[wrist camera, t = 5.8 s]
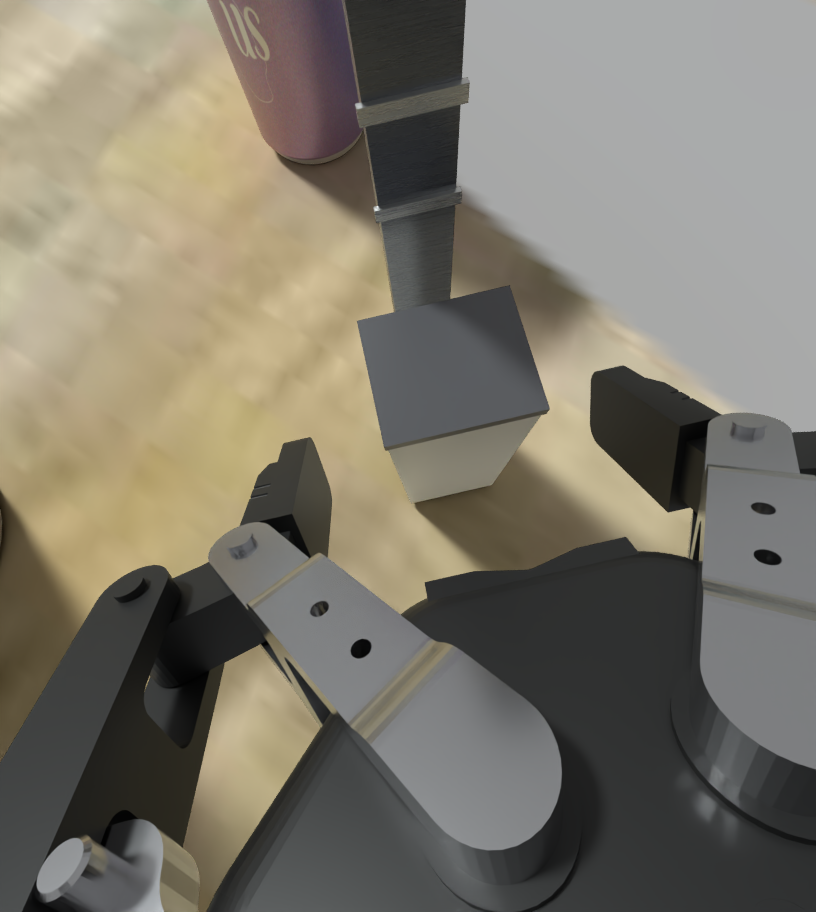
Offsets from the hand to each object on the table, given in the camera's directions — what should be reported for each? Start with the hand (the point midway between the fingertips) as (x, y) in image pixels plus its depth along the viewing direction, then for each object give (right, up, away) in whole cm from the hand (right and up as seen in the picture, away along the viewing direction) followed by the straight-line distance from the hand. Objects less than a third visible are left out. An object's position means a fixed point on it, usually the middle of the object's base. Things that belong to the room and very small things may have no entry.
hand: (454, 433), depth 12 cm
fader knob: (0, -1, +6) cm, 6 cm away
